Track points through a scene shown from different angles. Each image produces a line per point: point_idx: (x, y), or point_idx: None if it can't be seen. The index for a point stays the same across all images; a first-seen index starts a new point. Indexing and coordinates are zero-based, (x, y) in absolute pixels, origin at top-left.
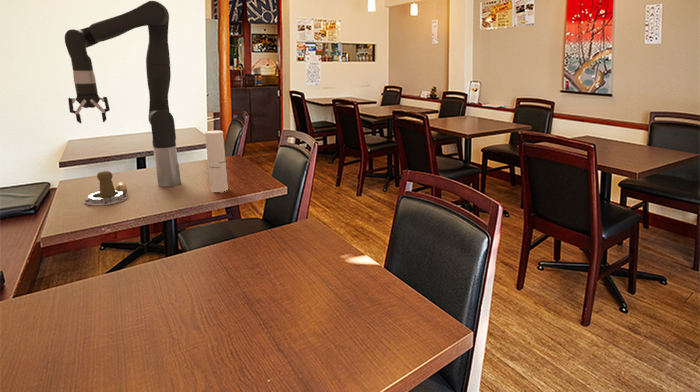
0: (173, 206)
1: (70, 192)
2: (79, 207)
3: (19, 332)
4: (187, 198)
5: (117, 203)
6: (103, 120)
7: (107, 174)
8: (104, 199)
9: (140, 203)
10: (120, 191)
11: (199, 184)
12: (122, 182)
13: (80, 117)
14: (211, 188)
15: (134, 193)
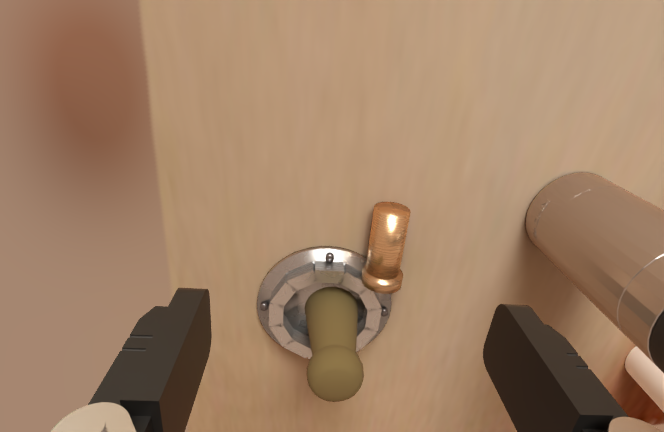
0: (476, 427)
1: (191, 131)
2: (244, 335)
3: None
4: None
5: None
6: (498, 377)
7: (345, 399)
8: None
9: (410, 373)
10: (374, 306)
11: None
12: (401, 222)
13: (185, 367)
14: (633, 373)
15: (419, 270)
